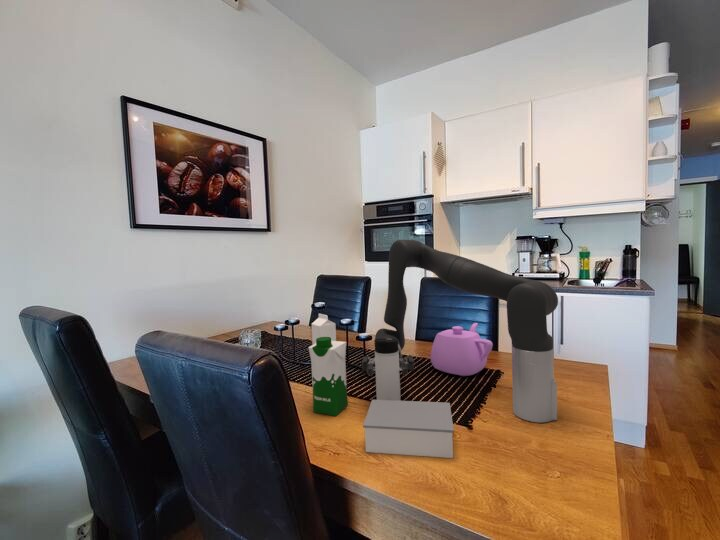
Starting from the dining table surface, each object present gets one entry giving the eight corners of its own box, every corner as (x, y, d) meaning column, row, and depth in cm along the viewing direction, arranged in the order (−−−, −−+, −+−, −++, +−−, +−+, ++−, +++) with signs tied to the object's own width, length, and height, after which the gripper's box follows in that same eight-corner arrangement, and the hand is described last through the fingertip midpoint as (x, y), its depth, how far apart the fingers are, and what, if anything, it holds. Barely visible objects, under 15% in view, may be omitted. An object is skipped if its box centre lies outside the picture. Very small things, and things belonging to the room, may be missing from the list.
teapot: (481, 385, 105) (479, 337, 105) (424, 370, 121) (422, 328, 120) (511, 366, 121) (510, 323, 120) (457, 354, 136) (456, 317, 136)
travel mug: (373, 417, 89) (370, 340, 87) (381, 405, 95) (378, 334, 93) (396, 420, 86) (393, 342, 85) (403, 409, 92) (400, 335, 91)
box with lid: (450, 427, 82) (449, 402, 82) (454, 459, 70) (453, 430, 69) (373, 423, 85) (372, 399, 85) (364, 452, 73) (362, 425, 73)
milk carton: (308, 413, 92) (304, 339, 91) (325, 399, 100) (322, 331, 99) (337, 418, 88) (333, 342, 87) (352, 404, 97) (349, 333, 96)
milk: (323, 382, 113) (319, 316, 112) (314, 377, 118) (310, 314, 117) (338, 378, 117) (335, 314, 116) (329, 373, 122) (325, 311, 120)
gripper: (365, 341, 106) (359, 358, 90) (411, 341, 105) (414, 357, 88) (366, 365, 107) (360, 386, 90) (412, 365, 105) (415, 386, 89)
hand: (387, 372), depth 89 cm, fingers open, 8 cm apart
